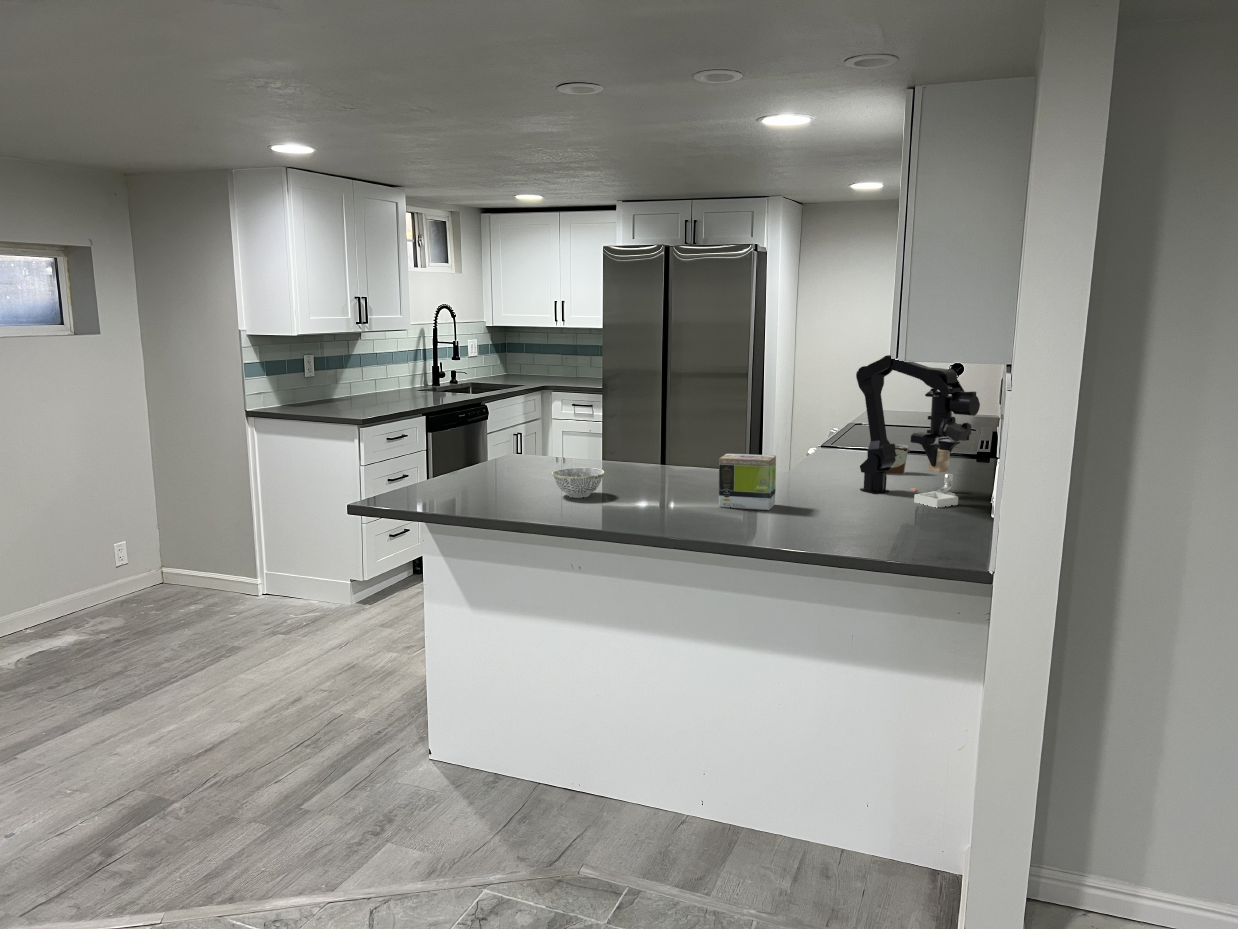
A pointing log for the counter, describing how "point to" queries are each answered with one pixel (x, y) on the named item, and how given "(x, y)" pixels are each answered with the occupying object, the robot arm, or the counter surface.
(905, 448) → the food container
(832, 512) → the counter surface
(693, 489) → the counter surface
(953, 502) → the tray
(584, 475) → the bowl
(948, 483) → the crank
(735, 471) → the tea box
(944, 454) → the block
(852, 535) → the counter surface
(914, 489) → the crank base
